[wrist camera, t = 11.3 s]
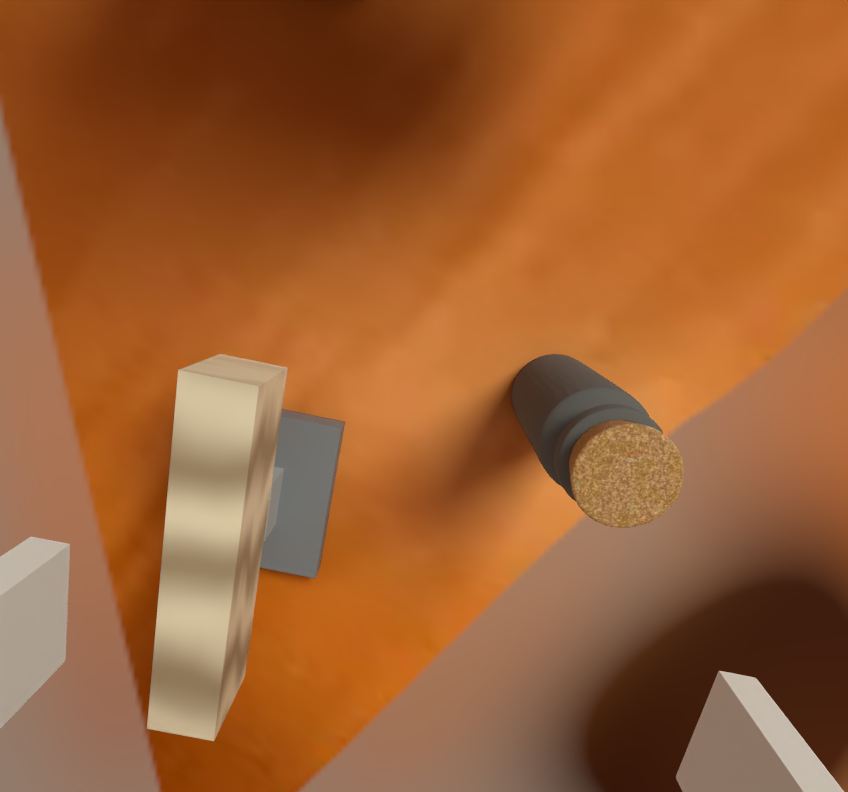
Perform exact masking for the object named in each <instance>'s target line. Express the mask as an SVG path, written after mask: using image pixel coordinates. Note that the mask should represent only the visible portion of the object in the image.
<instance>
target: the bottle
mask: <svg viewBox="0 0 848 792" xmlns="http://www.w3.org/2000/svg"><path fill="white" fill-rule="evenodd" d="M512 405H513V408H514V411H515V414H516V416H517V418H518V420H519V422H520V424H521V426H522V428H523V430H524V432H525V434H526V436H527V437H528V439H529V441H530V443H531V445H532V447H533V449H534V451H535V452H536V454H537V456H538V458H539V460H540V462H541V464H542V465H543V467H544V469H545V470H546V471H547V473H548V474H549V476H550V477H551V478H552V479H553V480H554V481H555V482H556V483H557V484H559V485H560V486H562V487H563V488H564V489H565V491H566V492H567V494H568V495H569V496H570V497H571V498H572V499H573V500H575V501H576V502H577V504H578V505H579V507H580V508H581V509H582V510H583V511H584V512H585V513H586V514H587V515H588V516H589V517H590V518H592V519H594V520H595V521H597V522H599V523H601V524H604V525H607V526H611V527H618V528H630V527H635V526H639V525H643V524H646V523H648V522H651V521H652V520H654V519H656V518H657V517H659V516H661V515H662V514H663V513H664V512H665V511H666V510H667V509H668V508H669V507H670V506H671V505H672V504H673V502H674V501H675V500H676V498H677V496H678V494H679V492H680V489H681V487H682V482H683V475H684V467H683V461H682V458H681V455H680V453H679V451H678V449H677V447H676V445H675V444H674V443H673V442H672V441H671V439H670V438H669V437H667V436H666V435H665V434H664V433H663V431H662V430H661V429H660V427H659V426H658V425H657V424H656V423H655V422H654V421H653V420H652V419H651V418H650V417H649V415H648V413H647V412H646V410H645V409H644V408H643V406H642V405H641V404H640V403H639V402H638V401H637V400H636V399H634V398H633V397H632V396H631V395H629V394H628V393H627V392H625V391H624V390H622V389H621V388H619V387H618V386H616V385H615V384H613V383H612V382H610V381H609V380H607V379H606V378H604V377H603V376H601V375H600V374H598V373H597V372H595V371H593V370H592V369H590V368H589V367H587V366H586V365H584V364H583V363H581V362H579V361H578V360H576V359H573V358H571V357H569V356H565V355H557V354H552V355H545V356H542V357H539V358H537V359H535V360H532V361H531V362H530V363H528V364H527V365H526V366H525V367H524V368H523V369H522V370H521V371H520V372H519V374H518V376H517V377H516V379H515V381H514V384H513V387H512Z"/></svg>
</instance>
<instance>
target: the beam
mask: <svg viewBox="0 0 848 792" xmlns="http://www.w3.org/2000/svg"><path fill="white" fill-rule="evenodd" d="M287 370H288V367H283V366H278V365H273V364H268V363H263V362H258V361H253V360H248V359H243V358H238V357H234V356H229V355H224V354H219V355H216V356H213V357H211V358H208V359H206V360H203V361H200V362H198V363H195V364H193V365H190V366H187V367H185V368H182V369H180V370H178V379H177V390H176V402H175V413H174V425H173V436H172V448H171V459H170V470H169V482H168V493H167V505H166V516H165V528H164V539H163V551H162V562H161V573H160V585H159V596H158V608H157V619H156V631H155V642H154V654H153V665H152V676H151V688H150V699H149V711H148V722H147V729H152V730H157V731H163V732H168V733H173V734H179V735H184V736H189V737H195V738H200V739H205V740H210V741H214V740H215V738H216V736H217V733H218V731H219V729H220V727H221V725H222V723H223V721H224V719H225V717H226V715H227V713H228V710H229V708H230V706H231V704H232V702H233V700H234V698H235V696H236V694H237V692H238V690H239V687H240V685H241V683H242V681H243V679H244V677H245V671H246V664H247V656H248V649H249V642H250V635H251V628H252V621H253V614H254V606H255V599H256V592H257V585H258V578H259V571H260V563H261V556H262V549H263V542H264V535H265V528H266V520H267V513H268V506H269V499H270V492H271V485H272V478H273V470H274V463H275V456H276V449H277V442H278V435H279V427H280V420H281V413H282V406H283V399H284V392H285V384H286V377H287Z"/></svg>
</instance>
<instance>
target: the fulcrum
mask: <svg viewBox="0 0 848 792" xmlns="http://www.w3.org/2000/svg"><path fill="white" fill-rule="evenodd" d="M344 425H345V422H343V421H338V420H333V419H328V418H323V417H318V416H313V415H308V414H303V413H299V412H294V411H289V410H284V409H282V413H281V420H280V427H279V435H278V442H277V449H276V456H275V463H274V470H273V478H272V485H271V492H270V499H269V506H268V513H267V520H266V528H265V535H264V542H263V549H262V556H261V563H260V568H264V569H270V570H275V571H280V572H285V573H290V574H295V575H300V576H305V577H311V578H316V576H317V573H318V571H319V568H320V564H321V558H322V552H323V546H324V540H325V535H326V529H327V523H328V517H329V511H330V506H331V500H332V494H333V488H334V483H335V477H336V471H337V465H338V459H339V454H340V448H341V442H342V436H343V430H344Z"/></svg>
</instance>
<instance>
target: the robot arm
mask: <svg viewBox="0 0 848 792" xmlns="http://www.w3.org/2000/svg"><path fill="white" fill-rule="evenodd" d="M69 557H70V544H67V543H62V542H57V541H51V540H46V539H41V538H36V537H30V538H28V539H27V540H25V541H24V542H22V543H21V544H19V545H17V546H16V547H15V548H13V549H12V550H10V551H9V552H7V553H5V554H4V555H2V556H1V557H0V729H1V728H2V727H3V726H4V724H5V723H6V722H7V721H8V720H9V719H10V718H11V717H12V716H13V715H14V714H15V713H16V712H17V711H18V710H19V709H20V708H21V707H22V706H23V705H24V704H25V702H26V701H27V700H28V699H29V698H30V697H31V696H32V695H33V694H34V693H35V692H36V691H37V690H38V689H39V688H40V687H41V686H42V685H43V684H44V682H46V681H47V679H48V678H49V677H50V676H51V675H52V674H53V673H54V672H55V671H56V670H57V669H58V668H59V667H60V666H61V665H62V664H63V662H65V658H66V632H67V608H68V607H67V605H68V582H69ZM676 779H677V781H678V783H679V785H680V787H681V789H682V792H844V791H843V790H842V788H841V787H840V786H839V785H838V783H837V782H836V781H835V780H834V778H833V777H832V776H831V774H830V773H829V772H828V770H827V769H826V768H825V767H824V765H823V764H822V763H821V761H820V760H819V759H818V758H817V756H816V755H815V754H814V752H813V751H812V750H811V749H810V747H809V746H808V745H807V743H806V742H805V741H804V739H803V738H802V737H801V736H800V734H799V733H798V732H797V730H796V729H795V728H794V727H793V725H792V724H791V723H790V722H789V720H788V719H787V718H786V716H785V715H784V714H783V712H782V711H781V710H780V709H779V707H778V706H777V705H776V703H775V702H774V701H773V699H772V698H771V697H770V696H769V695H768V693H767V692H766V691H765V689H764V688H763V687H762V685H761V684H760V683H759V681H758V680H757V679H756V678H754V677H749V676H743V675H738V674H733V673H728V672H723V671H719V672H718V674H717V677H716V679H715V682H714V684H713V687H712V689H711V692H710V694H709V696H708V699H707V701H706V704H705V706H704V709H703V711H702V714H701V716H700V719H699V721H698V723H697V726H696V728H695V731H694V733H693V736H692V739H691V741H690V743H689V746H688V748H687V751H686V753H685V756H684V758H683V760H682V763H681V765H680V768H679V770H678V773H677V775H676Z"/></svg>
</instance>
